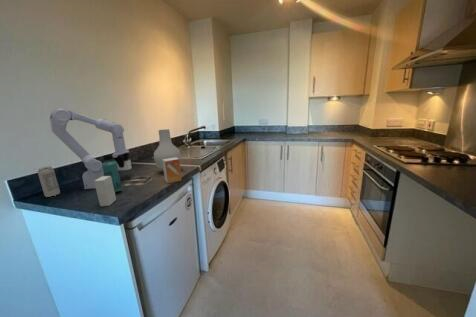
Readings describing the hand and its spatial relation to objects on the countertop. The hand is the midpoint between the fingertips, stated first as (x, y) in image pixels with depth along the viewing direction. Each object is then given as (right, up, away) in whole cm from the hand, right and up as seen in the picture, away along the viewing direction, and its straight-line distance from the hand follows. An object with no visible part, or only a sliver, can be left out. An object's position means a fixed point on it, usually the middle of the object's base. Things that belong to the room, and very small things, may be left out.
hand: (123, 166), depth 123 cm
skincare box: (+11, -16, -32) cm, 37 cm away
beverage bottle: (+7, -13, -20) cm, 25 cm away
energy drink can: (-25, -15, -20) cm, 35 cm away
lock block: (0, -2, 0) cm, 2 cm away
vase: (+24, -4, +12) cm, 27 cm away
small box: (+33, -8, -6) cm, 34 cm away
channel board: (+13, -9, -7) cm, 17 cm away
